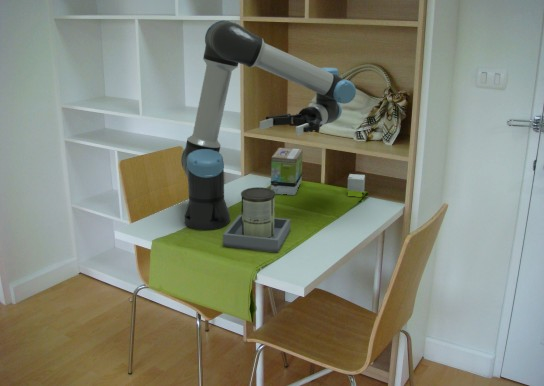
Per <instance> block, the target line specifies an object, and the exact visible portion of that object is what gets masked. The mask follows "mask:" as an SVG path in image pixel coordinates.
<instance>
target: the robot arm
mask: <svg viewBox="0 0 544 386" xmlns="http://www.w3.org/2000/svg"><path fill="white" fill-rule="evenodd" d="M204 43H205V46H204V48H205V49H204V52H203V58H202V59H203V61H204V64H205V65H206V67H205V71H204V77H203V82H202V87H201V93H200V98H199V101H198V106H197V112H196V117H195V122H194V126H193V130H192V131H193V132H192V135H190V136H188V137H187V138H186V139H187V140H186V144H185V148H184V150H183V152H182V153H181V157H180V158H181V159H180V162H181V166H182V169H183V171H184V173H185V175H186V177H187V185H188V186H187V187H188V188H187V190H188V202H187V205H186V210H185V213H184V218H183V219H184V224H185V226H187V227H188V228H190V229H193V230H199V231H208V230H209V231H210V230H217V229H221V228H224V227H226V226H228V225H229V224H231V223H230V222H231V214H230V211H229V208H228V205H227V202H226V199H225V175H224V173H225V171H224V169H225V161H224V157H223V155H222V153H220V150H221V146H222V145H221V144H220V142H219V140H218V139H219V134H220V129H221V124H222V119H223V115H224V110H225V106H226V101H227V95H228V92H229V87H230V82H231V78H232V77H231V76H232V73H233V71H234V70H235V69H237V68H238V66H239V64H241V65H243V66H247V67H249V68H253V67H256V68H259V69H262V70H263V71H266V72H268V73H271V74H273V75H275V76H278V77H280V78H283V79H284V80H287V81H289V82H291V83H294V84H296V85H299V86H302V87H303V88H305V89H308V90H310V91H313V92H315V93H316V94H315V95H316V97H315V98H316V99H315V104H313V105H310V106H307V107H304V108H302V109H301V110H300V111H299V113H296V114H291V113H286V114H279V115H269V116H265V119H264V120H260V121H259V130H260V131H263V130H266V129H269V128H271V129H272V127H274V126H287V125H289V127H293V126H294V127H295V136H297V137H298V136H301V135H304V134H307V133H309V132H310V133H312V132H315V133H319V132H320V129H321V127H323V126H324V125H327V124H331V123H333V122H335V121H337V120H338V119H339V118H341V115H342V112H343V111H342V110H343V109H342V106H341V104H342V105H343V104H344V105H345V104H349V103H351V102H352V101H353V100H354V99H355V97H356V95H357V88H356V86H355V84H354V82H352V81H350V80H348V79H344V78H342V77H341V76H339V73H340V72H339V70H338V68H336V67H318V66H316V65H314V64H312V63H309V62H307V61H306V60H303V59H301V58H298V57H296V56H294V55H293V54H290V53H287V52H285V51H283V50H281V49H280V48H277V47H274V46H272V45H270V44H268V43H266V42H265V41H264V38H262V37H260V36H258V35H256V34H255V33H252V31H249V30H248V29H246V28H245V27H243V26H242V25H240V24H238V23H236V22H232V21H229V20H224V19H222V20H217V21H216V22H214V23H212V24H211V25H210V26H209V27H208V28H207V30H206V32H205V35H204Z"/></svg>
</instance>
